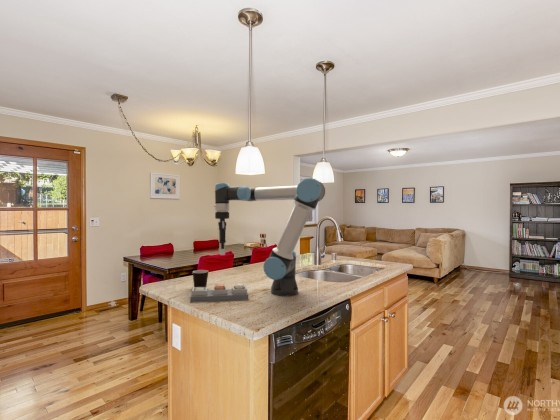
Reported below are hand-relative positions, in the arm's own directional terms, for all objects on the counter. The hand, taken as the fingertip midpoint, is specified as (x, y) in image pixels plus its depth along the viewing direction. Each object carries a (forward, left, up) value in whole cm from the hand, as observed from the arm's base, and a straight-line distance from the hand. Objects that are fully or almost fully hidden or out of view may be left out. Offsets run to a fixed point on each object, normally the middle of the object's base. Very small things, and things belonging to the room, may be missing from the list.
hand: (222, 254), depth 169 cm
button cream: (-9, +10, -16) cm, 21 cm away
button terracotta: (+1, +10, -16) cm, 19 cm away
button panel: (+1, +10, -20) cm, 23 cm away
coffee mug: (+11, -9, -21) cm, 25 cm away
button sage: (+11, +10, -18) cm, 23 cm away
